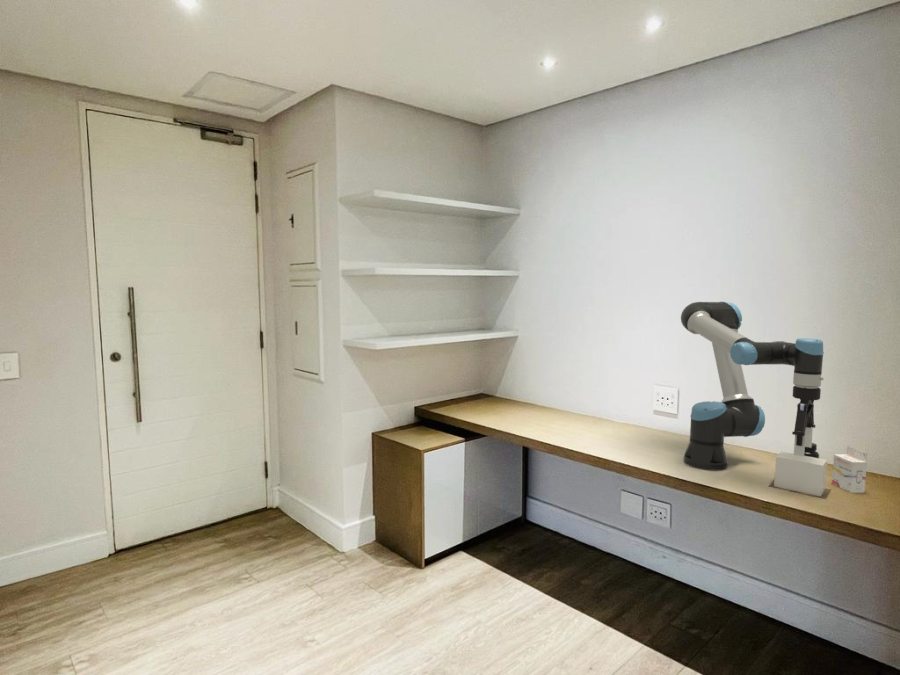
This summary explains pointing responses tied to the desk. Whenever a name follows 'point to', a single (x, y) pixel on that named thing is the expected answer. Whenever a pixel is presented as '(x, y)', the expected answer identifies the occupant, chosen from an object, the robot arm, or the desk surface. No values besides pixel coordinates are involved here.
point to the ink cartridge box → (850, 470)
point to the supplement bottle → (811, 451)
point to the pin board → (803, 493)
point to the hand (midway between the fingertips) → (802, 451)
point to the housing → (800, 473)
